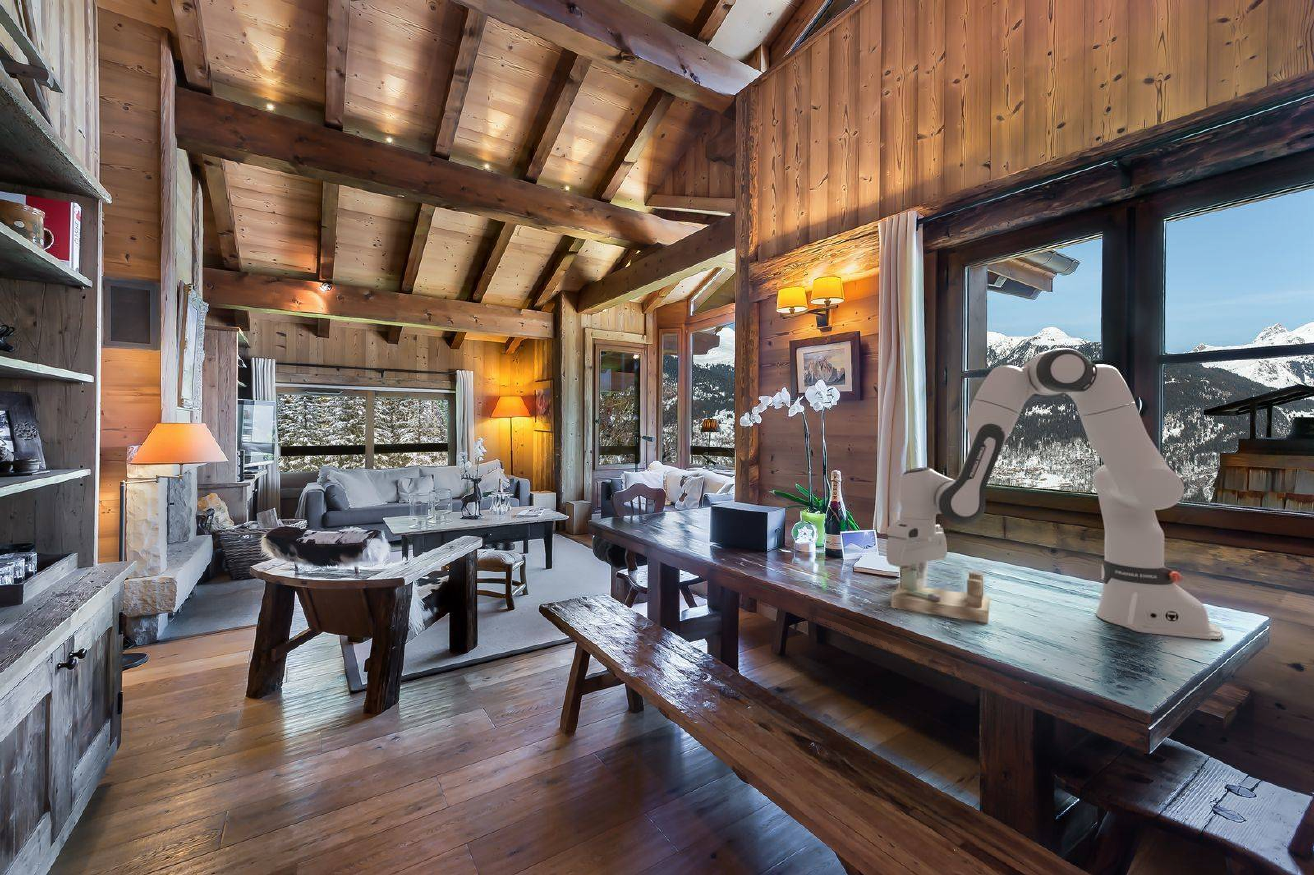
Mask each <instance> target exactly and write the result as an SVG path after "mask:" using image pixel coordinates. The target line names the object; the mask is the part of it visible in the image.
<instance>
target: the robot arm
mask: <svg viewBox="0 0 1314 875" xmlns="http://www.w3.org/2000/svg"><path fill="white" fill-rule="evenodd" d="M1060 394H1066V395H1068V397H1070V398H1071V399H1072V401H1073V403H1074V404H1075V405H1076V410H1077V412H1078V416H1079V418H1080V420H1081V424H1082V425H1083V426H1082V427H1083V428H1084V431H1085V432H1084V433H1085V434H1086V438H1087V440H1088V442H1089V445H1090V446H1091V448H1092V449H1093V450H1094V451H1095V452H1096V454H1097V455H1098V457H1099V458H1100V459H1101V461H1102V463H1103V464H1102V465H1100V466H1099V467H1098V468H1097V469H1096V470H1095V472H1094V473H1093V476H1092V484H1093V487H1094V489H1095V490H1096V494H1097V497H1098V502H1099V508H1100V511H1101V512H1100V513H1101V516H1102V521H1103V526H1104V558H1103V559H1102V563H1101V580H1102V590H1101V596H1100V599H1099V603H1098V606H1097V609H1096V612H1095V616H1096V617H1098V618H1100V620H1101V619H1102V620H1104V621H1106V622H1108V623H1111V624H1115V625H1118V626H1121V627H1124V628H1127V629H1130V630H1132V631H1135V632H1139V633H1146V634H1155V635H1163V636H1171V637H1172V636H1173V637H1182V638H1192V639H1194V638H1195V639H1200V640H1201V639H1203V640H1211V639H1220V638H1222V636H1223V637H1224V635H1223V631H1222V629H1221V628H1220V627H1219V626H1217V625H1216V624H1214V623H1212V622H1210V619H1209V615H1208V612H1207V609H1206V607H1205V606H1204V604H1203V603H1202V602H1201V601H1199V599H1197V597H1195V596H1193V595H1192V594H1190V593H1189V592H1188V591H1186V590H1185V589H1183V588H1182V587H1180V585H1177V584H1176V583H1175V582H1181V580H1182V579H1183V577H1182V575H1181V574H1180V573H1179V572H1178V571H1175V570H1173V569H1171V568H1169V567H1167V566H1166V565H1165V533H1164V530H1163V528H1161V526H1160V523H1159V521H1158V517H1157V515H1156V511H1160V510H1166V509H1168V508H1171V507H1174V506H1175V505H1177V503H1179V502H1180V501H1181V499H1182V498H1183V496H1184V492H1185V486H1184V483H1183V481H1182V479H1181V478H1180V476H1179V475H1178V474H1176V472H1175V471H1173V470H1172V469H1171V468H1170V466H1169V465H1168V464H1167V462H1166V460H1165V459H1164V457H1163V456H1162V454H1161V453H1160V451H1159V450H1158V448H1157V447H1156V446H1155V444H1154V442H1153V441H1152V439H1151V438H1150V436H1149V434H1148V432H1147V429H1146V427H1145V425H1144V422H1143V419H1142V417H1141V415H1140V412H1139V409H1138V407H1137V405H1136V402H1135V399H1134V397H1133V394H1132V392H1131V390H1130V388H1129V387H1128V385H1127V383H1126V381H1125V379H1124V378H1123V376H1122V375H1121V373H1120V371H1119V369H1117V368H1116V367H1114V366H1112V365H1108V364H1095V363H1093V362H1092V361H1091V360H1090V359H1088V358H1087V356H1085V355H1084V354H1083V353H1082V352H1080V351H1078V350H1076V349H1074V348H1073V349H1072V348H1068V347H1061V348H1060V347H1058V348H1054V349H1051V350H1046V351H1042V352H1041V353H1039V354H1037V355H1035V357H1032V358H1029V359H1028V360H1027V361H1025V362H1024V363H1022V364H1021V365H1019V366H1016V365H1000V366H997V367H994V368H993V369H992V370H991V371H990V372H989V374H987V376H986V377H985V379H984V381H983V382H982V384H981V385H980V386H979V388H978V390H977V392H976V394H975V396H974V398H973V401H972V402H971V405H970V408H969V409H968V413H967V418H966V422H965V425H966V429H967V431H968V432H967V433H968V435H969V439H970V443H969V444H970V445H969V450H968V453H967V455H966V457H965V460H964V463H963V465H962V467H961V470H960V471H959V474H958V476H957V478H956V479H953V478H951V477H947V476H946V475H943V474H941V473H939V472H937V471H935V470H934V469H933V468H931V467H927V466H926V467H914V468H911V469H907V470H906V471H904V472H903V474H901V478H900V482H899V483H900V484H899V502H900V512H899V520H897V521H896V522H894V523H892V524H891V525H889V526H888V527H887V528H886V535H887V536H888V538H887V540H886V555H885V556H886V560H887V563H888V565H890V566H895V567H897V568H900V567H901V566H906V565H909V566H910V568H911V569H914V570H917V579H921V578H923V572H924V570H925V568H926V562H927V563H928V562H933V561H937V560H942V559H946V557H947V555H948V546H947V537H946V534H945V533H944V528H943V527H942V526H941V525H940V524H936V519H937V518H936V517H937V515H939V514H940V515H942V516H943V517H944V518H945V519H946V520H947V521H948V522H950V523H952V524H954V525H959V526H960V525H961V526H962V525H963V526H965V525H971V524H973V523H976V522H977V521H978V520H979V519H980V518H981V517H982V516H983V514H984V512H985V510H986V489H987V486H988V483H989V480H990V477H991V475H992V472H993V470H994V468H995V465H996V462H997V460H998V459H999V457H1000V453H1001V450H1002V449H1003V447H1004V444H1005V443H1006V441H1007V439H1008V437H1009V436H1010V434H1011V432H1012V430H1013V428H1014V427H1015V425H1016V423H1017V421H1018V419H1019V417H1020V415H1021V412H1022V411H1023V409H1024V405H1025V403H1026V402H1027V401H1028V400H1029V399H1030V398H1031V397H1032V396H1035V397H1044V396H1057V395H1060ZM1222 639H1223V638H1222ZM1220 640H1221V639H1220Z"/></svg>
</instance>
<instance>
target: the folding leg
mask: <svg viewBox="0 0 1314 875" xmlns="http://www.w3.org/2000/svg"><path fill="white" fill-rule="evenodd" d="M902 589H904V590H907V593H909V594H912V595H916V596H920V597H923V598H927V599H929V600H932V601H940V595H937V594H932V593H928V592H924V591H920V590H917V570H914V569H902Z"/></svg>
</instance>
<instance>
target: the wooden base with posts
mask: <svg viewBox="0 0 1314 875" xmlns="http://www.w3.org/2000/svg"><path fill="white" fill-rule="evenodd" d="M902 569H911V568H910V566H909V565H906V566H901V567H899V584H898V585H897V587H896V589H895V590H894V592H893V593H892V594H891V595H890V608H891V607H892V608H891V609H895V608H898V609H897V610H902V609H903V610H904V611H907V612H909V611H910V612H916V613H922V614H927V615H935V616H941V617H947V618H954V619H959V620H965V621H972V622H977V621H979V622H980V623H985V624H988V623H989V618H988V617H989V616H990V605H991V604H990V596H989V595H984V574H983V573H981V572H976V571H975V572H974V571H973V572H972V571H971V572H968V579H966V581H967V582H966V587H967V588H966V590H967V591H966V592H960V591H955V590H952V591H951V590H947V589H938V588H931V587H917V590H920V591H924V592H928V593H932V594H937V595H940V601H932V600H929V599H927V598H923V597H920V596H916V595H912V594H909V593H907V590H904V589H902ZM903 610H902V611H903ZM979 622H978V623H979Z"/></svg>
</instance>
